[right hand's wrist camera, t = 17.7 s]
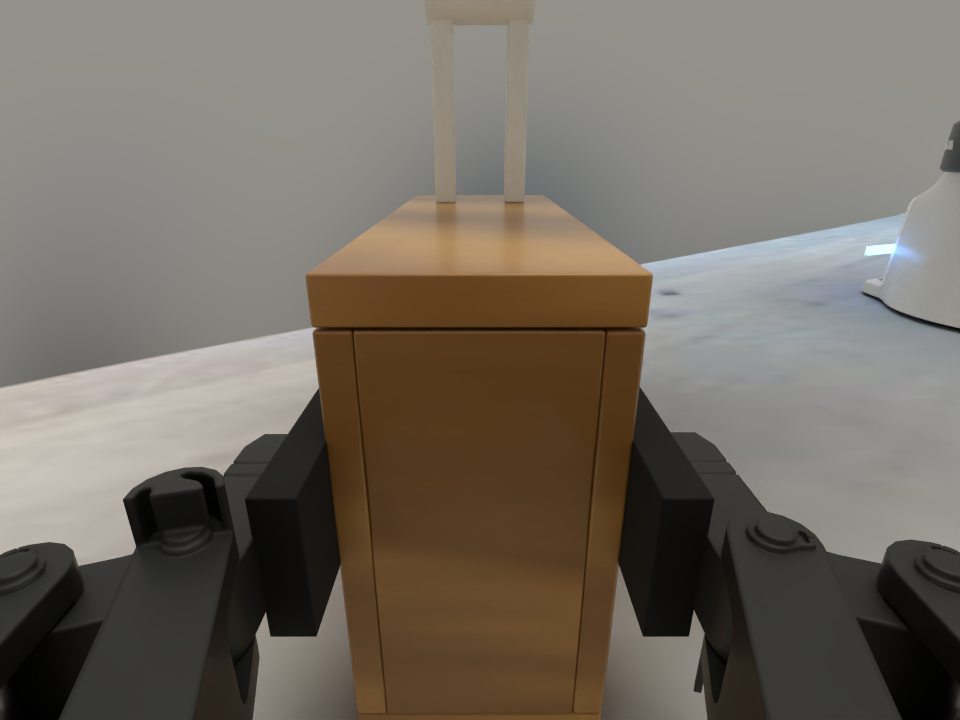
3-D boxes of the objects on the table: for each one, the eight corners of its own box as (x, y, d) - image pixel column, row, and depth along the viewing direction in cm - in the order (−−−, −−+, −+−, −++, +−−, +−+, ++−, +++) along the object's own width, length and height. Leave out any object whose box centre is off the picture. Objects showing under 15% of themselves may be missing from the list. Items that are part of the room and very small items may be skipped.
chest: (424, 421, 26) (415, 219, 23) (536, 421, 26) (544, 219, 23) (359, 735, 12) (311, 331, 9) (599, 735, 12) (647, 331, 9)
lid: (417, 217, 23) (407, -5, 20) (543, 217, 23) (552, -6, 20) (310, 328, 9) (225, -394, 6) (648, 328, 9) (732, -395, 6)
